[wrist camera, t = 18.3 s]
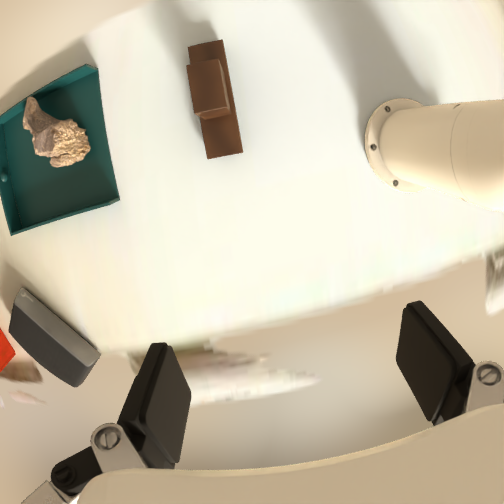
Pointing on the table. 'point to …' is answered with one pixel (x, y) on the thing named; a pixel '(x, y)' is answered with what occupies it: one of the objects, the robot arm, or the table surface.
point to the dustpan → (39, 168)
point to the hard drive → (51, 340)
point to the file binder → (5, 351)
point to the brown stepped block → (214, 99)
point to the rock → (55, 136)
